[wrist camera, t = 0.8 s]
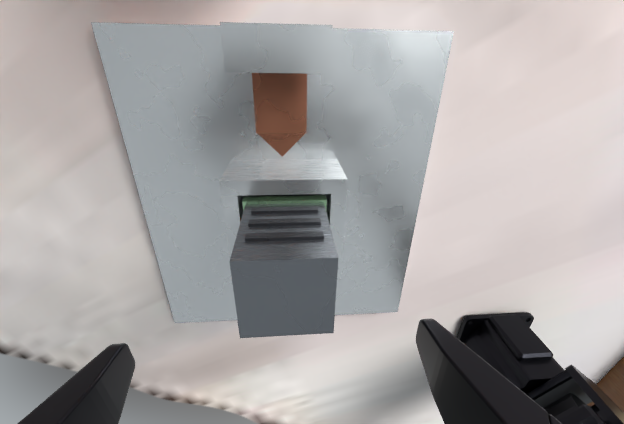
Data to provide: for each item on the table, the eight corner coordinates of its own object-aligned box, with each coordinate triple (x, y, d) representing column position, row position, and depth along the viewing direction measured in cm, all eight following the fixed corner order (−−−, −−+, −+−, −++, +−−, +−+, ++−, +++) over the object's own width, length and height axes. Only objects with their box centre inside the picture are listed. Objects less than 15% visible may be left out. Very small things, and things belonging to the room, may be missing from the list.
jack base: (393, 303, 25) (442, 413, 17) (178, 313, 24) (125, 438, 16) (444, 32, 16) (597, 6, 8) (102, 24, 15) (-109, -17, 7)
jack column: (318, 236, 20) (336, 335, 13) (254, 237, 20) (236, 340, 13) (320, 176, 18) (342, 254, 11) (249, 177, 18) (224, 258, 11)
